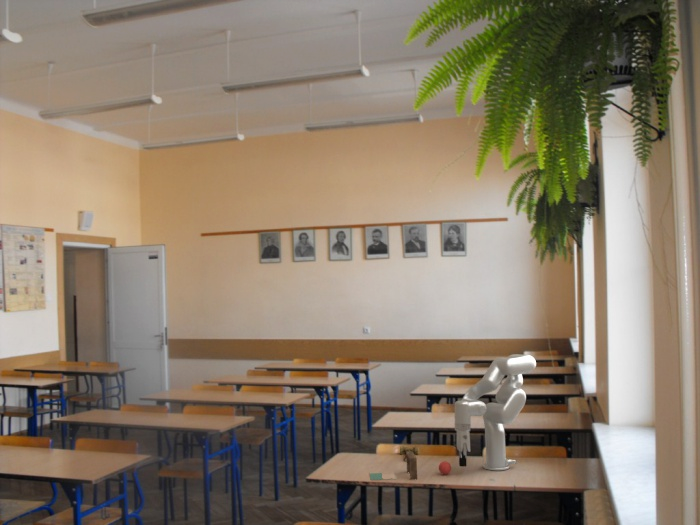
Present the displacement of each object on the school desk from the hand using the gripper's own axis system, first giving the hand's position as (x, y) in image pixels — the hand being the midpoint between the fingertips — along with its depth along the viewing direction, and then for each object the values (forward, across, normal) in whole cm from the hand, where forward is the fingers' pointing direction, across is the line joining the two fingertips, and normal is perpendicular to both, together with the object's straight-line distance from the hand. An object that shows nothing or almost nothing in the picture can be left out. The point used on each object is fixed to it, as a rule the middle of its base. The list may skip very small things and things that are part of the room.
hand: (462, 466), depth 313 cm
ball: (+1, 0, +8) cm, 9 cm away
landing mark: (+5, +1, +38) cm, 39 cm away
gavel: (+4, +39, +22) cm, 45 cm away
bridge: (+5, +1, +24) cm, 25 cm away
